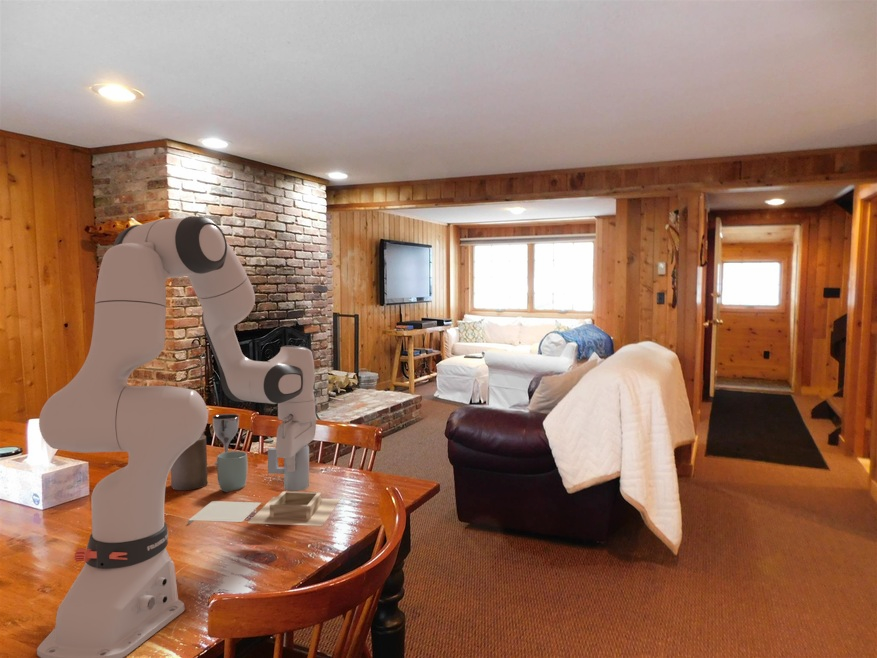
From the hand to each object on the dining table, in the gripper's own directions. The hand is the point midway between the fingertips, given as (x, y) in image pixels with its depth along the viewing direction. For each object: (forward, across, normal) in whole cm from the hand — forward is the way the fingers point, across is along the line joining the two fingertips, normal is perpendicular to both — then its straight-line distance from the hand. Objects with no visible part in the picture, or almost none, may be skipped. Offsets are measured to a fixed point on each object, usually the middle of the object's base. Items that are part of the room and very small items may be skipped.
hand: (296, 466), depth 147 cm
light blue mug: (+5, 0, +2) cm, 5 cm away
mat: (+12, -2, +17) cm, 21 cm away
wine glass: (+12, +42, +37) cm, 57 cm away
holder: (+12, +1, 0) cm, 12 cm away
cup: (+12, +16, +23) cm, 31 cm away
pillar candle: (+12, +19, +37) cm, 44 cm away
